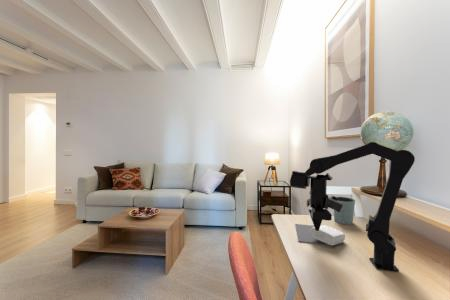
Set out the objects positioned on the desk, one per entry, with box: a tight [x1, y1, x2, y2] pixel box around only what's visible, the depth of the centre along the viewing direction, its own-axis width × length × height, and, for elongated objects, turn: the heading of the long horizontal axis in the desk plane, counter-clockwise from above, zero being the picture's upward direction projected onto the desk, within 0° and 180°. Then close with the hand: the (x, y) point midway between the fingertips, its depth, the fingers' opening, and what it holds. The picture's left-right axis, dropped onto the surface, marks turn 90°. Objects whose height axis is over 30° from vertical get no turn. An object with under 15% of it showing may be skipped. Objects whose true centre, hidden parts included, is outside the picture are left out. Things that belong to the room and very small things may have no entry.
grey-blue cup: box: [333, 196, 356, 226], centre depth 117 cm, size 10×10×12 cm
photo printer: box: [310, 224, 346, 246], centre depth 93 cm, size 10×4×12 cm
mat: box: [294, 223, 334, 247], centre depth 101 cm, size 20×13×1 cm, turn 166°
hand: (317, 230), depth 87 cm, fingers closed
